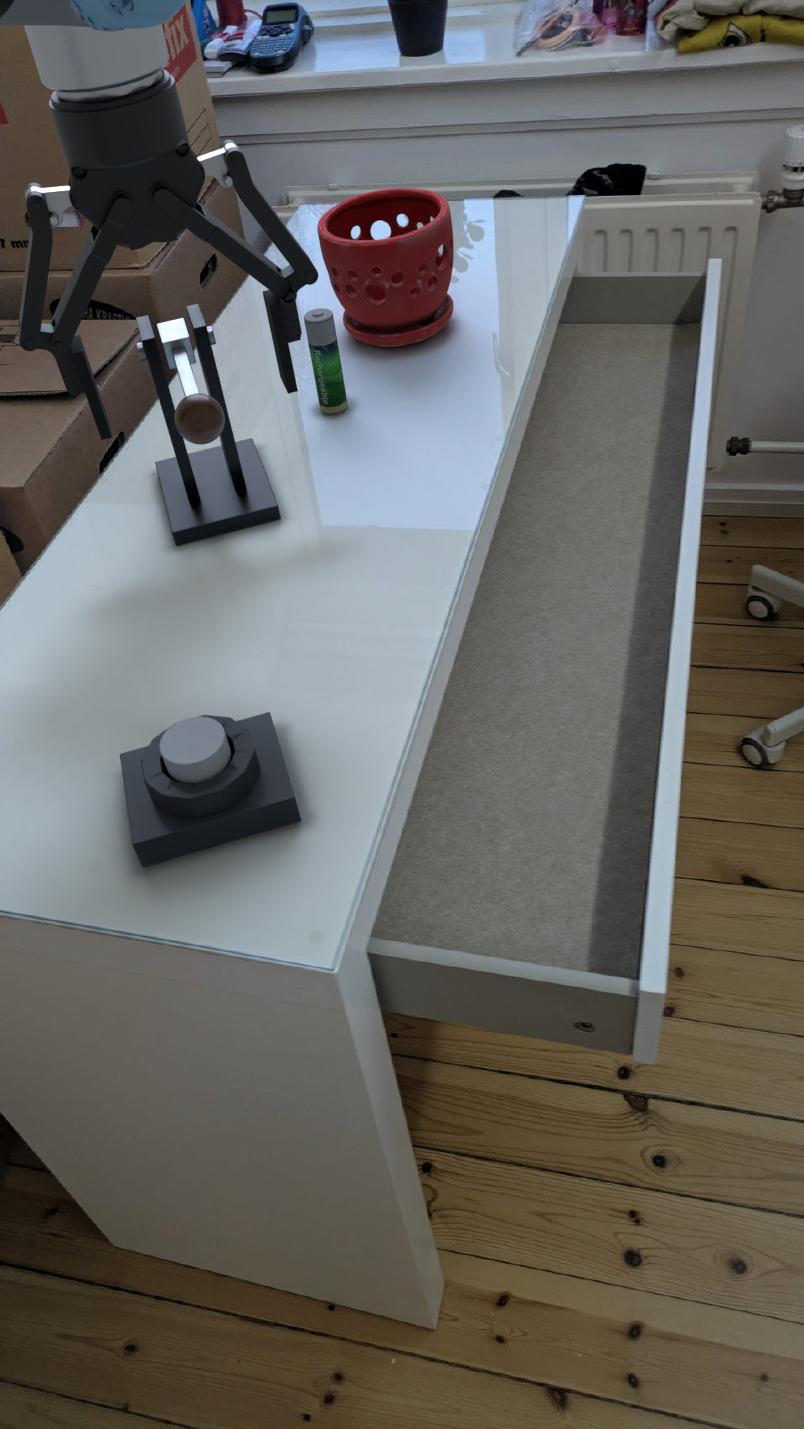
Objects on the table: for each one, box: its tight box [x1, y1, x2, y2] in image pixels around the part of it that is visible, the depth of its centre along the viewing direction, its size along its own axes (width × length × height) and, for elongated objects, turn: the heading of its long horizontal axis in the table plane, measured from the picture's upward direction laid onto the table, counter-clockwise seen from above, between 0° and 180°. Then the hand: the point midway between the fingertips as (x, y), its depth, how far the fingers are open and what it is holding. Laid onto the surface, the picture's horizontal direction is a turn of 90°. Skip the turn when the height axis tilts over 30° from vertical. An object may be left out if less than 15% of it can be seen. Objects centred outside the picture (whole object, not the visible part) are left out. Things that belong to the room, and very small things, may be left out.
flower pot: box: [316, 187, 455, 348], centre depth 110 cm, size 13×13×12 cm
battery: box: [303, 307, 349, 416], centre depth 101 cm, size 3×3×10 cm
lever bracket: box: [135, 303, 282, 546], centre depth 90 cm, size 12×9×16 cm
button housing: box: [119, 711, 302, 868], centre depth 68 cm, size 10×8×4 cm
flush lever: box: [156, 317, 225, 446], centre depth 82 cm, size 13×4×4 cm, turn 16°
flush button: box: [160, 716, 231, 783], centre depth 67 cm, size 4×4×2 cm
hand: (198, 407), depth 79 cm, fingers open, 13 cm apart
